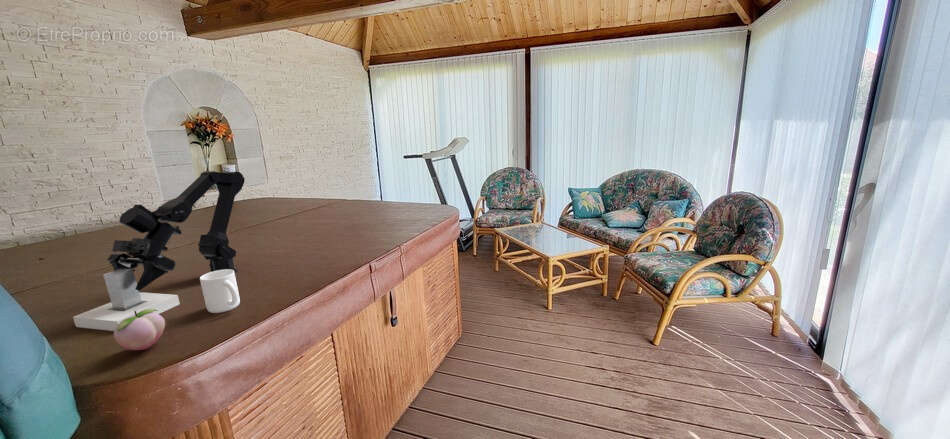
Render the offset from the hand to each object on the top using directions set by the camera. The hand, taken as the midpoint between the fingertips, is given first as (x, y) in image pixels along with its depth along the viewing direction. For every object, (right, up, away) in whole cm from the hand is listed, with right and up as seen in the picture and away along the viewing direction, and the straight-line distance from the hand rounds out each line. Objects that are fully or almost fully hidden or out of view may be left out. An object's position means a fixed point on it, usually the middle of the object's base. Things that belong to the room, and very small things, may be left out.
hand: (125, 289), depth 105 cm
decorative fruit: (+21, -11, -17) cm, 29 cm away
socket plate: (0, -8, +1) cm, 8 cm away
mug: (+27, -6, +3) cm, 28 cm away
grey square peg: (0, -7, +1) cm, 8 cm away
